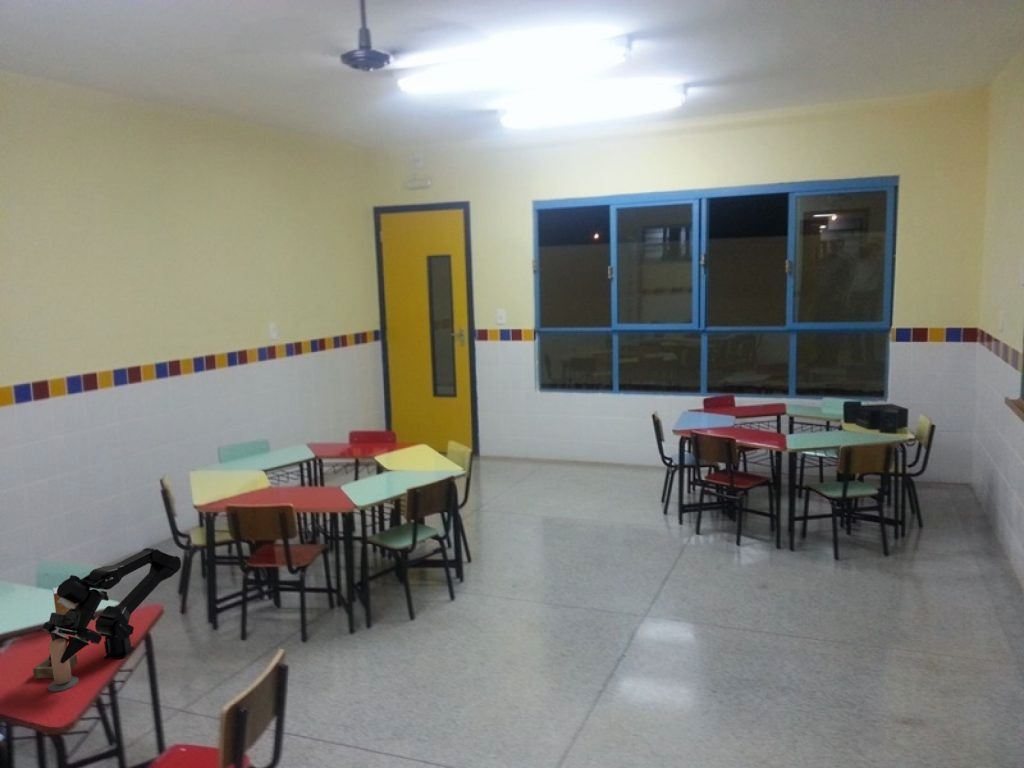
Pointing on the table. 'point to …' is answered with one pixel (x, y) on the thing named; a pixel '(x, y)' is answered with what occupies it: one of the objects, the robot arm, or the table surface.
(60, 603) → the small box
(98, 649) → the table surface
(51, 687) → the charcoal coaster
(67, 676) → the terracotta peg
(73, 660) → the walnut socket
